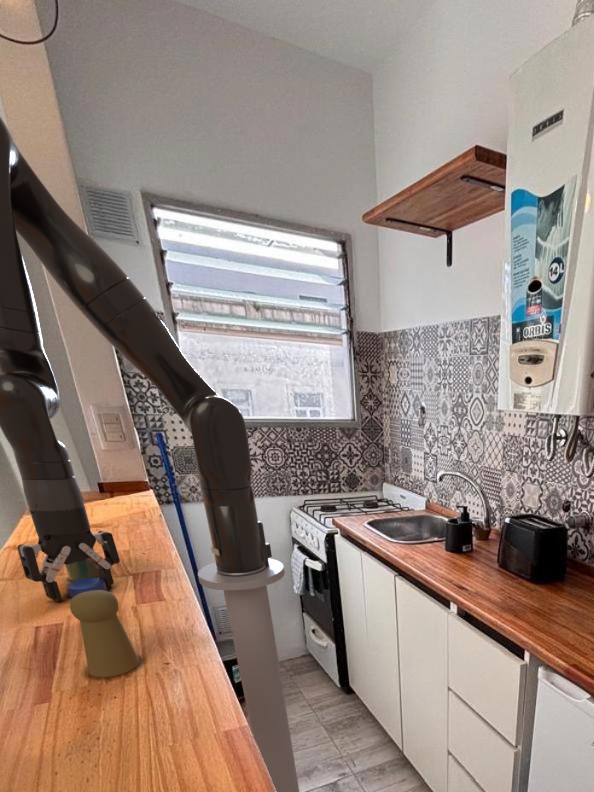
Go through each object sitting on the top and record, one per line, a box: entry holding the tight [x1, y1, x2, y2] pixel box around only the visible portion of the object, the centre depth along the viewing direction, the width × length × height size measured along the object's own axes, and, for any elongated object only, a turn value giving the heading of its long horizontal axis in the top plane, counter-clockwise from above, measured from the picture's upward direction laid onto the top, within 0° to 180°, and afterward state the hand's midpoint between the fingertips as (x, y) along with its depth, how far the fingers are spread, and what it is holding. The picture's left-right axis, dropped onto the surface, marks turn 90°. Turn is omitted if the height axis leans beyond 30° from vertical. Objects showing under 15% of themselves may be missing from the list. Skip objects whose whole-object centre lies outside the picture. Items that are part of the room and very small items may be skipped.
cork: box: [69, 590, 140, 678], centre depth 70 cm, size 6×6×11 cm
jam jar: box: [64, 547, 99, 582], centre depth 100 cm, size 5×5×10 cm
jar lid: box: [65, 577, 109, 599], centre depth 95 cm, size 6×6×2 cm
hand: (82, 593), depth 95 cm, fingers open, 8 cm apart
